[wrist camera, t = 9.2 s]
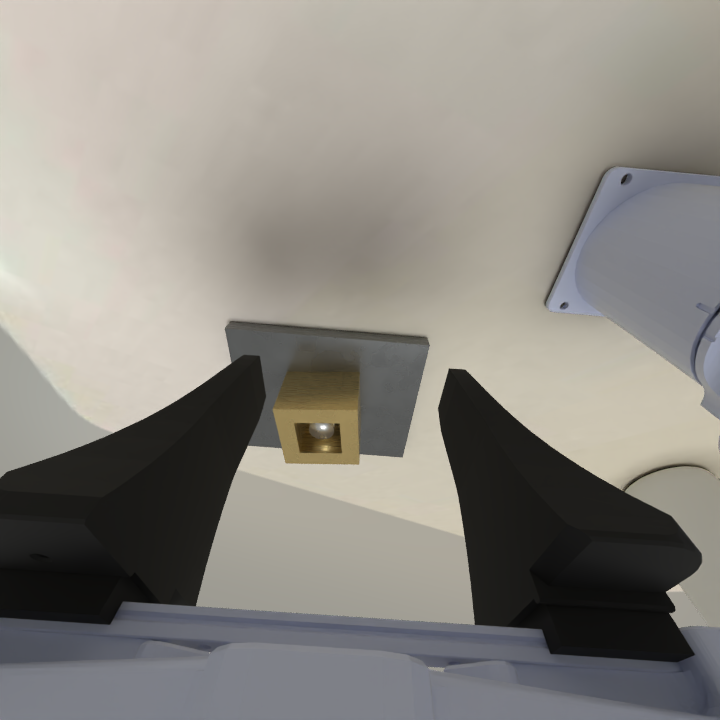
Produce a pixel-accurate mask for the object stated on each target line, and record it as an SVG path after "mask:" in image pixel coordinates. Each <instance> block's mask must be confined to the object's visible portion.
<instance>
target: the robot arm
mask: <svg viewBox="0 0 720 720" xmlns="http://www.w3.org/2000/svg"><path fill="white" fill-rule="evenodd" d="M626 174H627V179H626V181H625V182H624V183H622V184H621V179H622V178H623V176H624V175H626ZM564 302H566V303H565V305H564V306H562V307H560V305H561V304H562V303H564ZM546 308H547V309H548V310H549V311H551V312H559V313H570V314H582V315H594V316H606V317H607V318H609V319H610V320H611V321H613V322H614V323H616V324H617V325H618V326H620V327H621V328H622V329H624V330H625V331H627V332H628V333H629V334H631V335H632V336H634V337H635V338H636V339H638V340H639V341H640V342H642V343H643V344H645V345H646V346H647V347H649V348H650V349H652V350H653V351H654V352H656V353H657V354H659V355H660V356H661V357H663V358H664V359H665V360H667V361H668V362H670V363H671V364H672V365H674V366H675V367H677V368H678V369H679V370H681V371H682V372H683V373H685V374H686V375H688V376H689V377H690V378H692V379H693V380H695V381H696V382H697V383H699V384H700V385H701V386H703V388H704V398H703V400H702V402H701V406H702V407H704V408H705V409H706V410H708V411H709V412H710V413H711V414H713V415H714V416H715V417H717V418H718V419H719V420H720V176H713V175H702V174H691V173H681V172H670V171H659V170H649V169H638V168H628V167H613V168H611V169H609V170H608V171H607V172H606V173H605V175H604V176H603V178H602V181H601V183H600V185H599V187H598V189H597V192H596V194H595V196H594V198H593V200H592V203H591V205H590V207H589V209H588V212H587V214H586V216H585V218H584V220H583V223H582V225H581V227H580V229H579V231H578V234H577V236H576V238H575V240H574V242H573V245H572V247H571V249H570V251H569V253H568V256H567V258H566V260H565V262H564V264H563V267H562V269H561V271H560V273H559V275H558V278H557V280H556V282H555V284H554V287H553V289H552V291H551V293H550V295H549V298H548V300H547V302H546ZM265 399H266V392H265V386H264V379H263V373H262V366H261V360H260V356H256V355H243V356H241V357H240V358H238V359H237V360H235V361H234V362H233V363H231V364H230V365H228V366H227V367H226V368H224V369H223V370H222V371H220V372H219V373H217V374H216V375H215V376H213V377H212V378H210V379H209V380H208V381H206V382H205V383H203V384H202V385H200V386H199V387H197V388H196V389H194V390H193V391H191V392H190V393H188V394H187V395H185V396H184V397H182V398H180V399H179V400H177V401H176V402H174V403H172V404H171V405H169V406H167V407H165V408H164V409H162V410H160V411H158V412H156V413H154V414H152V415H151V416H149V417H147V418H145V419H143V420H141V421H139V422H136V423H134V424H132V425H130V426H128V427H126V428H124V429H121V430H119V431H117V432H115V433H113V434H111V435H108V436H106V437H104V438H101V439H99V440H96V441H94V442H91V443H89V444H86V445H84V446H81V447H79V448H76V449H73V450H71V451H68V452H65V453H63V454H60V455H57V456H54V457H51V458H48V459H45V460H42V461H39V462H36V463H33V464H30V465H27V466H24V467H21V468H18V469H15V470H11V471H8V472H7V473H5V474H4V476H2V477H1V478H0V720H720V627H704V626H688V627H682V628H678V627H677V625H676V623H675V622H674V620H673V619H672V617H671V616H670V614H669V613H673V612H674V611H675V606H674V604H673V603H672V601H671V600H670V598H669V597H668V595H667V594H666V591H668V590H669V589H671V588H672V587H674V586H676V585H677V584H679V583H680V582H682V581H684V580H685V579H687V578H688V577H690V576H691V575H692V574H694V573H695V572H696V571H697V570H698V569H699V567H700V565H701V564H702V553H701V552H700V551H699V549H698V548H697V547H696V546H695V544H694V543H693V542H692V541H691V540H690V538H689V537H688V536H687V535H686V533H685V532H684V531H683V530H682V528H681V527H680V526H679V525H678V523H677V522H676V521H675V520H674V518H673V517H672V516H671V515H669V514H667V513H665V512H663V511H661V510H659V509H657V508H655V507H653V506H651V505H649V504H647V503H645V502H643V501H641V500H639V499H637V498H635V497H633V496H631V495H629V494H627V493H625V492H623V491H622V490H620V489H618V488H616V487H615V486H613V485H611V484H609V483H607V482H606V481H604V480H602V479H600V478H599V477H597V476H595V475H594V474H592V473H590V472H589V471H587V470H585V469H584V468H582V467H581V466H579V465H577V464H576V463H574V462H573V461H571V460H570V459H568V458H567V457H565V456H564V455H562V454H561V453H559V452H558V451H556V450H555V449H554V448H552V447H551V446H549V445H548V444H547V443H545V442H544V441H543V440H541V439H540V438H539V437H537V436H536V435H535V434H533V433H532V432H531V431H530V430H528V429H527V428H526V427H525V426H524V425H522V424H521V423H520V422H519V421H518V420H517V419H516V418H514V417H513V416H512V415H511V414H510V413H509V412H508V411H507V410H505V409H504V408H503V407H502V406H501V405H500V404H499V403H498V402H497V401H496V400H495V399H494V398H493V397H492V396H491V395H490V394H489V393H488V392H487V391H486V390H485V389H484V388H483V387H482V386H481V385H480V384H479V383H478V382H477V381H476V380H475V379H474V378H473V377H472V376H471V375H470V374H469V373H468V372H467V371H466V370H463V369H449V371H448V374H447V378H446V382H445V385H444V389H443V392H442V396H441V400H440V403H439V407H438V411H439V419H440V426H441V432H442V436H443V440H444V444H445V448H446V451H447V455H448V459H449V462H450V466H451V469H452V473H453V477H454V480H455V484H456V488H457V493H458V497H459V503H460V509H461V515H462V521H463V528H464V535H465V542H466V549H467V556H468V563H469V572H470V581H471V590H472V599H473V610H474V619H475V625H468V624H453V623H437V622H423V621H408V620H407V621H406V620H393V619H377V618H363V617H348V616H333V615H332V616H331V615H318V614H302V613H287V612H272V611H256V610H242V609H227V608H212V607H197V606H196V603H197V599H198V595H199V591H200V587H201V584H202V580H203V575H204V572H205V567H206V564H207V561H208V557H209V554H210V550H211V547H212V543H213V540H214V536H215V533H216V530H217V526H218V523H219V520H220V517H221V513H222V510H223V507H224V504H225V501H226V498H227V495H228V492H229V489H230V486H231V483H232V480H233V477H234V475H235V473H236V470H237V468H238V466H239V464H240V461H241V459H242V457H243V455H244V453H245V451H246V448H247V446H248V444H249V442H250V440H251V437H252V435H253V433H254V431H255V428H256V426H257V424H258V422H259V419H260V416H261V413H262V410H263V406H264V403H265ZM718 448H719V452H720V436H719V444H718ZM209 652H211V653H210V654H209ZM428 667H442V668H445V669H444V672H441V671H435V670H430V669H428Z"/></svg>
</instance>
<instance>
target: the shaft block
mask: <svg viewBox="0 0 720 720" xmlns="http://www.w3.org/2000/svg"><path fill="white" fill-rule="evenodd" d="M225 331H226V337H227V342H228V347H229V352H230V357H231V362H232V363H233V362H234V361H235V360H237V359H238V358H240V357H241V356H243V355H256V356H260V360H261V366H262V373H263V379H264V386H265V392H266V399H265V403H264V406H263V410H262V413H261V416H260V419H259V422H258V424H257V426H256V428H255V431H254V433H253V435H252V437H251V440H250V442H249V444H248V446H260V447H274V448H282V446H281V442H280V438H279V434H278V429H277V425H276V421H275V417H274V413H273V407H274V404H275V402H276V399H277V397H278V394H279V391H280V389H281V386H282V383H283V381H284V378H285V375H286V373H287V372H360V407H361V433H360V454H366V455H379V456H392V457H403V453H404V449H405V445H406V441H407V437H408V432H409V428H410V424H411V420H412V416H413V412H414V408H415V404H416V399H417V395H418V391H419V387H420V383H421V379H422V375H423V370H424V366H425V362H426V358H427V354H428V350H429V346H430V345H429V342H428V338H422V337H410V336H398V335H386V334H374V333H361V332H349V331H337V330H325V329H313V328H301V327H289V326H277V325H265V324H253V323H241V322H230V323H229V324H228V325H227V326H226V328H225ZM334 428H335V423H310V426H309V432H310V434H311V435H312V436H313V437H315V438H317V439H328V438H330V437H331V436H332V435H333V434H334Z"/></svg>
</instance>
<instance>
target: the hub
mask: <svg viewBox="0 0 720 720" xmlns="http://www.w3.org/2000/svg"><path fill="white" fill-rule="evenodd" d="M273 413H274V417H275V421H276V425H277V429H278V434H279V438H280V442H281V446H282V450H283V454H284V458H285V462H286V463H299V464H359V458H360V433H361V407H360V372H287V373H286V375H285V378H284V381H283V383H282V386H281V389H280V391H279V394H278V397H277V399H276V402H275V404H274V407H273ZM310 423H335V428H334V434H333V435H332V436H331V437H330V438H328V439H317V438H315V437H313V436H312V435H311V434H310V432H309V426H310Z"/></svg>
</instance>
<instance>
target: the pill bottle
mask: <svg viewBox="0 0 720 720" xmlns="http://www.w3.org/2000/svg"><path fill="white" fill-rule="evenodd" d="M625 493H627V494H629V495H631V496H633V497H635V498H637V499H639V500H641V501H643V502H645V503H647V504H649V505H651V506H653V507H655V508H657V509H659V510H661V511H663V512H665V513H667V514H669V515H671V516H672V517H673V518H674V520H675V521H676V522H677V523H678V525H679V526H680V527H681V528H682V530H683V531H684V532H685V533H686V535H687V536H688V537H689V538H690V540H691V541H692V542H693V543H694V544H695V546H696V547H697V548H698V549H699V551H700V552H701V553H702V564H701V565H700V567H699V569H698V570H697V571H696V572H695V573H694V574H692V575H691V576H690V577H688V578H687V579H685V580H684V581H682V582H680V583H679V585H680V586H681V588H682V589H683V591H684V592H685V594H686V595H687V596H688V598H689V599H690V601H691V602H692V604H693V605H694V606H695V608H696V609H697V611H698V612H699V614H700V615H701V617H702V618H703V620H704V621H705V622H706V624H707V625H708V627H720V479H718V478H717V477H716V476H715V475H713V474H712V473H711V472H709V471H707V470H705V469H702V468H699V467H691V466H683V467H674V468H668V469H664V470H660V471H657V472H654V473H651V474H649V475H647V476H644V477H642V478H641V479H639V480H637V481H636V482H634V483H633V484H632V485H630V486H629V487H628V488H627V489H626V491H625Z"/></svg>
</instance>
